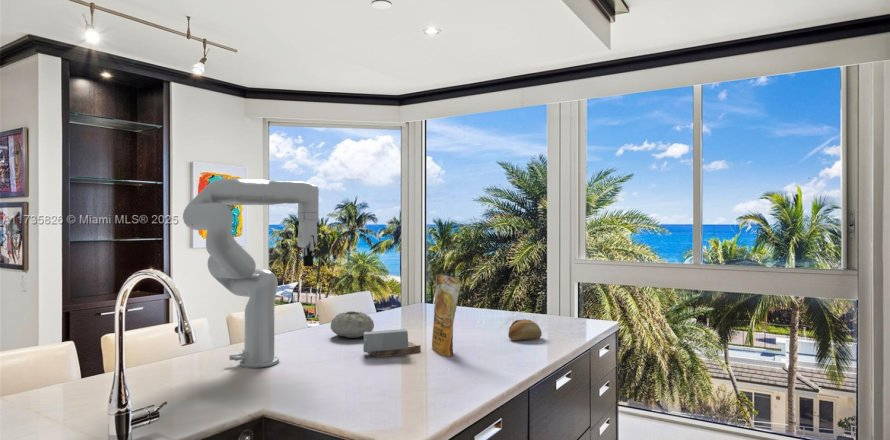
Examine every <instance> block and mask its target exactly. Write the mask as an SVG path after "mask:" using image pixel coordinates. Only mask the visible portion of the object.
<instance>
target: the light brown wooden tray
mask: <svg viewBox="0 0 890 440" xmlns="http://www.w3.org/2000/svg"><path fill="white" fill-rule="evenodd" d="M421 346H422V345H421V344H419V345H418V344H417V345H416V344H414V343H412V342H409V341H408V349H398V350H386V351H374V352H368V353H370V354H371V355H372V356H374V357H376V358H383V357H391V356H398V355H405V354H411V353H419V352H421V348H422V347H421Z"/></svg>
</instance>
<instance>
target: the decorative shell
mask: <svg viewBox="0 0 890 440" xmlns="http://www.w3.org/2000/svg"><path fill="white" fill-rule="evenodd" d="M374 324H375V323H374V320H373V319H372V318H371V316H369V315H367V314H366V313H364V312H362V311H354V310H352V311H350V310H349V311H345V312H341V313H338V314H337V315H336V316H335V317H333V319H331V322H330V330H331V331H332V332H333V333H334V334H335V335H337V336H339V337H344V338H349V339H355V338H360V337H364V332H372V331H373V330H374V328H375V325H374Z"/></svg>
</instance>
